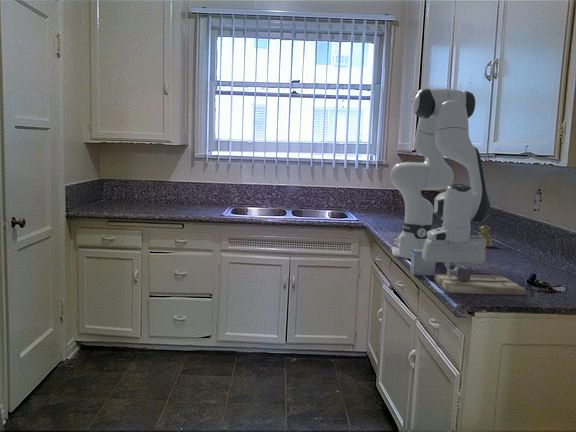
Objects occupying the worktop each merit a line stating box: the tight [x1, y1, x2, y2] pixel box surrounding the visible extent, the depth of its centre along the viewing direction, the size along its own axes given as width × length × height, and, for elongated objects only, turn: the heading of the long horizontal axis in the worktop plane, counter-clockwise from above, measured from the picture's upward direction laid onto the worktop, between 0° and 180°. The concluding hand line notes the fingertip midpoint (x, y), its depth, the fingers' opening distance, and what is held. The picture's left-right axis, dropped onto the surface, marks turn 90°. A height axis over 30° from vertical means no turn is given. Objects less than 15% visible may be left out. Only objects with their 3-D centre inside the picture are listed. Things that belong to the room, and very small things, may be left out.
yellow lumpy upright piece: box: [478, 224, 493, 249], centre depth 243 cm, size 7×7×10 cm
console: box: [433, 273, 526, 296], centre depth 170 cm, size 16×24×2 cm, turn 92°
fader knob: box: [455, 265, 472, 281], centre depth 169 cm, size 5×3×4 cm, turn 2°
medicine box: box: [409, 249, 437, 277], centre depth 184 cm, size 8×4×9 cm, turn 92°
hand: (451, 275), depth 169 cm, fingers closed
